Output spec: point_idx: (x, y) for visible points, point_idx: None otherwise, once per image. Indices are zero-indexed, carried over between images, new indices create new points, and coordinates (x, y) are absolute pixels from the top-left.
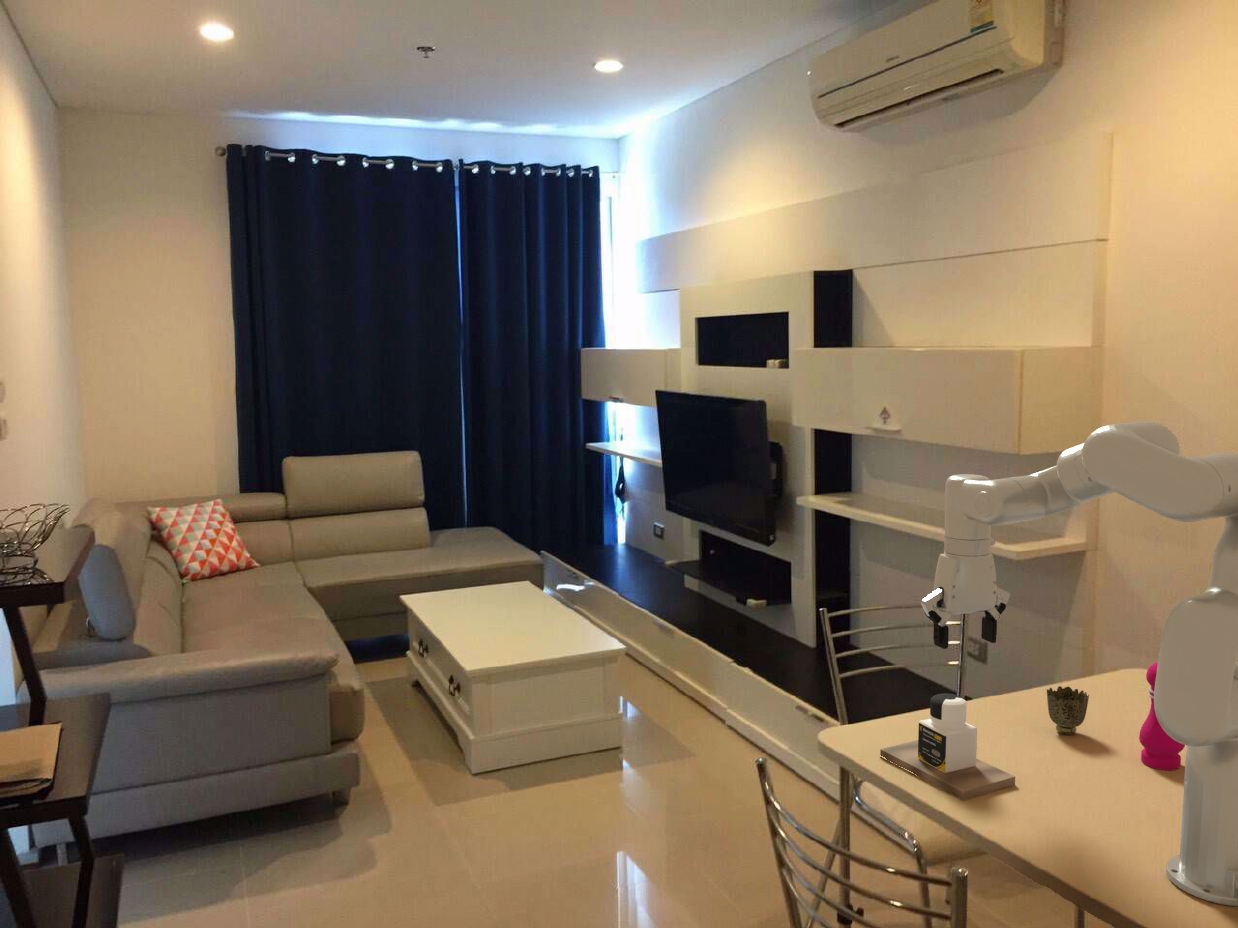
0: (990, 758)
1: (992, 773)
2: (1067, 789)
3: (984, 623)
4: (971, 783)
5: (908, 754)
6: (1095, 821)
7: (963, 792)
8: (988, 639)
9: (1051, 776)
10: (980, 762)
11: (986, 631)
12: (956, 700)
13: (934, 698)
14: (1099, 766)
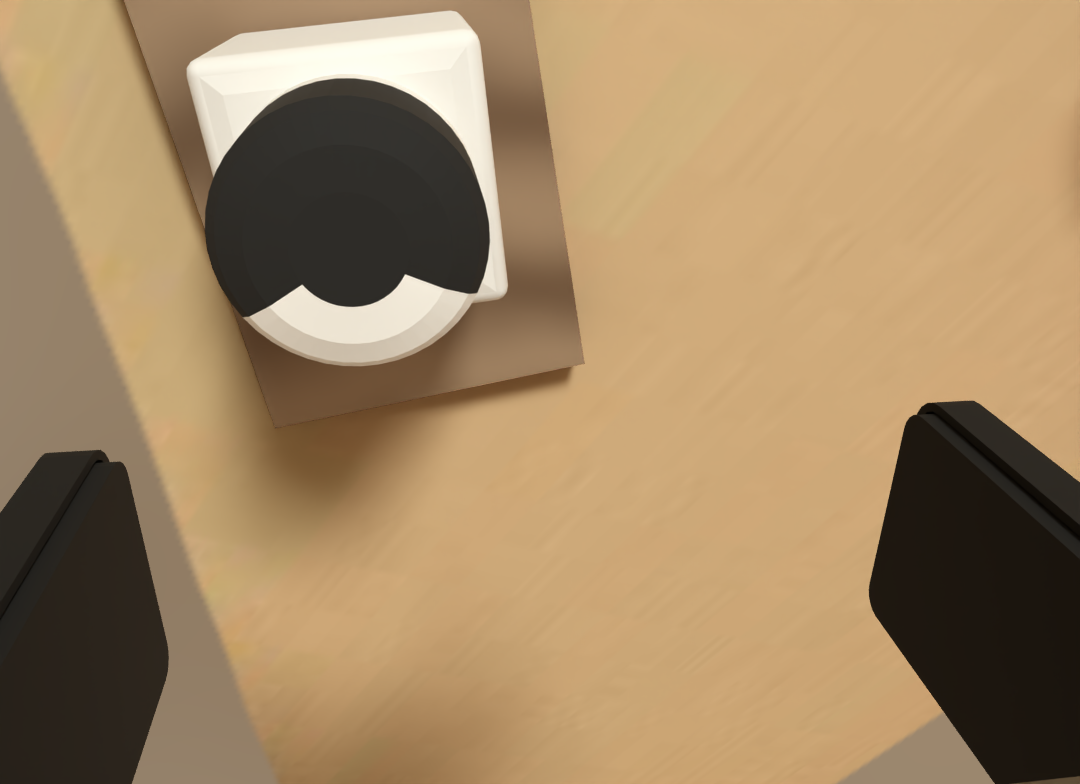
0: (676, 64)
1: (511, 310)
2: (737, 429)
3: (1051, 612)
4: (355, 371)
5: None
6: (631, 629)
7: (276, 425)
8: (889, 555)
9: (775, 319)
10: (538, 186)
11: (955, 583)
12: (375, 323)
13: (233, 211)
14: (1024, 293)
